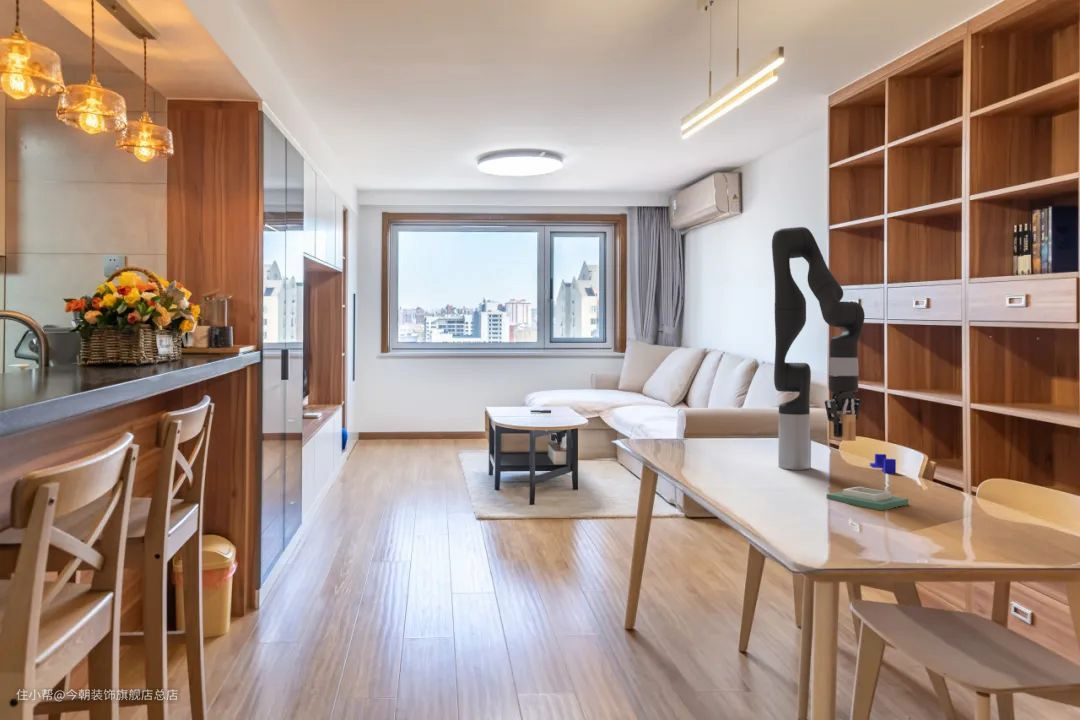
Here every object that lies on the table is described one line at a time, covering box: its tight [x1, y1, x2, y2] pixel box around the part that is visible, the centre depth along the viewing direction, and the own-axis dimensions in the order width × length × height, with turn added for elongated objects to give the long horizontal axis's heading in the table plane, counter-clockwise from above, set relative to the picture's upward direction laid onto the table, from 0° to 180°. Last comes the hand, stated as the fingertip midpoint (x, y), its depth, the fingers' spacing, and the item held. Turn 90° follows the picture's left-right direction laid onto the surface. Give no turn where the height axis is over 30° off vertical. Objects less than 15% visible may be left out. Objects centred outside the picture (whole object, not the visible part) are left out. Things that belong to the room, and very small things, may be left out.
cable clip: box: [869, 453, 897, 475], centre depth 224 cm, size 12×4×6 cm, turn 169°
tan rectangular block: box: [829, 413, 857, 442], centre depth 197 cm, size 4×6×7 cm
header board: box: [826, 486, 909, 511], centre depth 183 cm, size 12×15×3 cm
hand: (843, 436), depth 197 cm, fingers closed on tan rectangular block, 4 cm apart
